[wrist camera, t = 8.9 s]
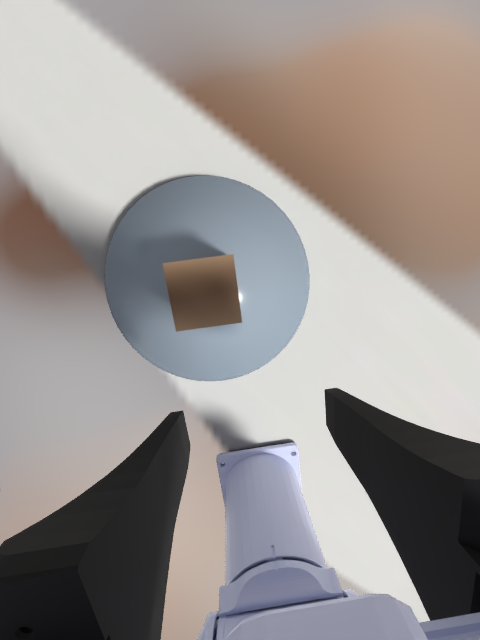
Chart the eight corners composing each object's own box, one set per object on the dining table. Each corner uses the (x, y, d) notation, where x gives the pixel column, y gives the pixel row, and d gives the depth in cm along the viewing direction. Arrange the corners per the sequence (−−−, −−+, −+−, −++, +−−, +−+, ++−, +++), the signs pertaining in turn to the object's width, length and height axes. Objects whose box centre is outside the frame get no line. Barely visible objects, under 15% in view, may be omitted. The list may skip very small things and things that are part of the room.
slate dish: (311, 362, 21) (314, 367, 20) (136, 387, 21) (131, 393, 20) (298, 168, 18) (302, 162, 17) (86, 194, 17) (78, 190, 16)
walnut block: (238, 308, 19) (242, 322, 14) (188, 314, 19) (175, 331, 14) (231, 257, 18) (233, 254, 13) (179, 264, 18) (162, 263, 13)
